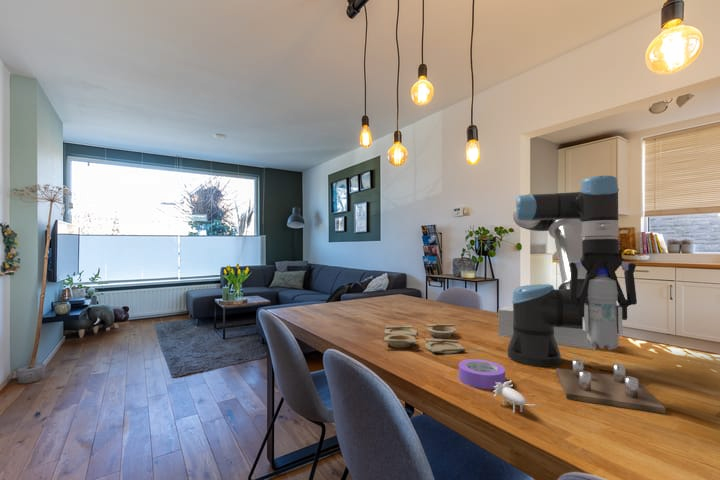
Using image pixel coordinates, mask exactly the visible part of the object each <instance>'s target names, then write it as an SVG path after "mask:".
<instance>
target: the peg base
mask: <svg viewBox="0 0 720 480" xmlns="http://www.w3.org/2000/svg"><path fill="white" fill-rule="evenodd" d="M589 372H590V371H589ZM555 373H556V376H557V379H558V381H559V383H560V386H561V388H562V391H563V392H564V393H563V394H564V395H565V398H566V399H567V400H573V401H578V402H587V403H592V404H599V405H606V406H613V407H618V408H626V409H630V410H638V411H646V412H651V413H658V414H664V415H665V414H666V407H665V406H663V404H662V403H661V402H660V401H659V400H658V399H657V398H656V397H655V396H654V395H653V394H652V393H651V392H650V391H649V390H648V389H647V388H646V387H645V385H643V384H642V383H641V382H640V381H639V380H638V398H631V397H628V396H626V395H625V383H617V382H615V381H614V374H607V373H600V372H599V373H598V372H590V373H591V391H583V390H581V389H579V378H577V377H574V376H573V370H572V369H565V368H557V367H556V368H555Z"/></svg>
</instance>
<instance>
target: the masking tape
mask: <svg viewBox="0 0 720 480" xmlns="http://www.w3.org/2000/svg"><path fill="white" fill-rule="evenodd" d="M458 380H459V381H460V382H461V383H463V384H464V385H467V386H469V387H472V388H475V389H476V388H477V389H483V390H496V389H497V388H494V387H493V386H496V385H497V384H496V383H495V382H497V383H498V382H500V383H502V384H504V383H505V382H506V369H505V367H504V366H503V365H501V364H499V363H497V362H494V361H490V360H485V359H477V358H474V359H473V358H472V359H470V358H469V359H464V360H462V361H460V362H459V363H458Z"/></svg>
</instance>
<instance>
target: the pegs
mask: <svg viewBox="0 0 720 480" xmlns="http://www.w3.org/2000/svg"><path fill="white" fill-rule="evenodd" d="M571 364H572V369H571V370H573V376H574V377H577V378H579V389H581V390H583V391H591V373H592V372H591V373H590V371H586V370H584V361H583V360H581V359H575V358H574V359H572V361H571ZM612 366H613V374H612V375H614V381H615V382H617V383H625V395H626V396H628V397H631V398H638V381H639V379H638V378H637V377H635V376H629V375H628V376H626V366H625V365H623V364H618V363H614V364H612Z"/></svg>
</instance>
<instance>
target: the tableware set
mask: <svg viewBox="0 0 720 480" xmlns="http://www.w3.org/2000/svg"><path fill="white" fill-rule="evenodd" d="M384 327H385V329H384V331H383V332H384V334H385V336H384V338H383V339H382V342H383V343H388V344H390V346H391V347H393V348H397V349H404V348H409V347H411V344H415V343H418V340H417V339H416V338H417V336H418V331H417V329H414V325H410V324H409V325H403V326H402V325H397V326H396V325H395V326H392V325H391V326H384ZM426 327H427V331H428V332H430V333H432V335H433V337H436V338H425V339H424V340H425V342H426V343H425V344H424V348H425V349H426V350H428V351H430V352H432V353H438V354H449V355H450V354H457V353H460V352H462V351H466V350H467V349H466V347H464V346H463V345H461V344H460V343H459V340H458V339H448V338H451V336H452V335H453V334H455V333H457V331H458V329H457V328H455V327H456V323H441V324H437V323H428V324H426Z"/></svg>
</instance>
